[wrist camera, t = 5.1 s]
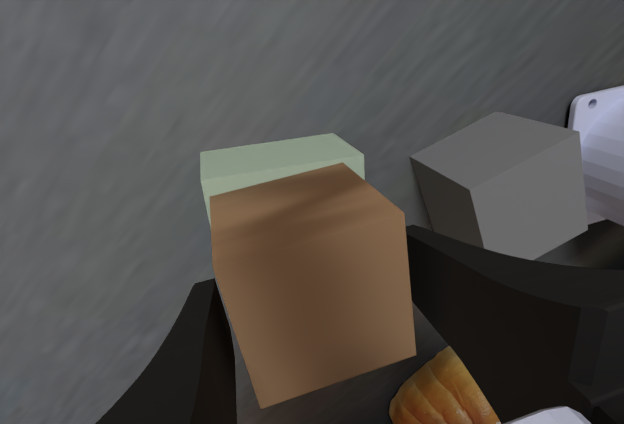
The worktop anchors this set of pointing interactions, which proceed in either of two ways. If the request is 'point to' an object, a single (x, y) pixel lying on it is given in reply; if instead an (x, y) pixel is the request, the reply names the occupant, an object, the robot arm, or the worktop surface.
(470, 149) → the charcoal cube
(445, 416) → the pastry
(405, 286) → the walnut cube
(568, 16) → the worktop surface
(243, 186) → the green base block
